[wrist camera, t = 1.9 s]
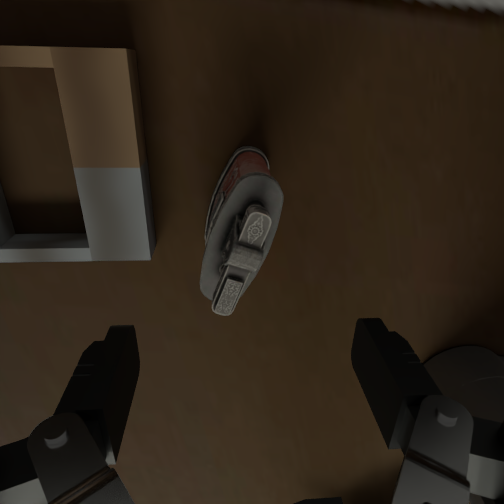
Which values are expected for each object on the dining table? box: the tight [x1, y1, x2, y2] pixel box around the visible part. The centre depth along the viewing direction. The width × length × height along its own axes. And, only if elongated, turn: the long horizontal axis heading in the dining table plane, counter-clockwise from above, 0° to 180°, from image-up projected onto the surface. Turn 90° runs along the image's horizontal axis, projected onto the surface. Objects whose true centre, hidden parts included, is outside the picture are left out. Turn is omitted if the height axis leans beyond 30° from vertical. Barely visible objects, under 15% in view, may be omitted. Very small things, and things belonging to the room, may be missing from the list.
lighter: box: [200, 146, 283, 316], centre depth 23 cm, size 8×3×10 cm, turn 159°
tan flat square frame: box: [0, 45, 156, 262], centre depth 24 cm, size 14×13×2 cm
